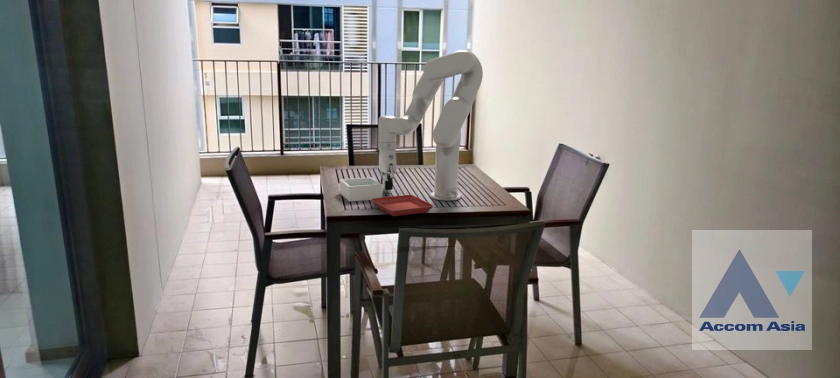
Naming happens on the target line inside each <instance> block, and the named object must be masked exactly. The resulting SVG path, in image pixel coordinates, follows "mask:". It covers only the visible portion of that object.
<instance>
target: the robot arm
mask: <svg viewBox="0 0 840 378" xmlns="http://www.w3.org/2000/svg"><path fill="white" fill-rule="evenodd" d="M422 70H423V71H422V74H421V76H420V78H419V80H418V82H417V83H416V85H415V87H414V88H413V91H412V98H411V101H410V103H409V105H408V107H407V109H406V110H405V112H404V115H403V116H400V117H396V116H394V115H380V116H379V117H378V121H377V122H378V125H377V126H378V129H377V132H378V135H377V140H378V141H377V142H378V143H377V147H378V148H377V149H378V152H379V153H378V168H379V169H378V170H379V171H380V183H381V184H382V181H383V174H386V181H385V190H391V191H393V187H394V185H393V184H394V176H395V174H396V173H397V169H398V167H397V153H396V150H397V135H398V136H408V135H411V134H412V133H413V132H415V131H416V129H417V128H418V127H419V125H420V124H421V122H422V120H423V119H424V116H425V114H426V113H427V111H428V108H429V107H430V105H431V103H432V101H433V100H434V98H435V96H436V94H437V92H438V91H439V89H440V87H441V86H442V84H443V82H444V81H445V79H448V78H452V77H455V76H458V75H461V76H460V79H459V80H458V83H457V85H456V87H455V90H454V93H453V95H452V96H451V98H450V99H449V100H447V102H446V103H445V104H444V106H443V108H442V111H441V113H440V115H439V116H438V119H437V122H436V124H435V126H434V129H433V132H432V139H433V142H434V143H435V161H434V162H435V163H434V189H433V190H434V191H433V192H431V193H430V195H429V196H430V198H432V199H433V200H437V201H446V202H448V201H457V200H460V199H461V198H462V195H461V193H459V192H458V184H459V183H458V182H459V159H460V156H459V155H460V146H461V145H460V143H461V129H462V128H463V125H464V123H465V120H466V119H467V117H468V116H469V114H470V112H471V109H472V106H473V104H474V102H475V99H476V98H477V95H478V92H479V91H480V87H481V84H482V83H483V76H484V75H483V74H484V72H483V71H484V70H483V66H482V63H481V61H480V59H479V58H478V57H477V55H476V54H474V52H472V51H470V50H466V49H465V50H464V49H461V50H458V51H457V50H456V51H454V52H452V53H448V54H445V55H442V56H438V57H435V58H431V59H429V60H428V61H426V63H425V64H424V66H423V69H422ZM388 175H389V176H388Z"/></svg>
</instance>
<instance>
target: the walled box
mask: <svg viewBox="0 0 840 378" xmlns="http://www.w3.org/2000/svg"><path fill="white" fill-rule="evenodd" d="M339 194H340V195H341V196H342V197H343V198H344V199H345V200H347V202H359V201H372V200H371V199H374V198H383V193H382V184H381V182H379V181H378V180H377V179H375V178H374V177H372V176H371V177H356V178H342V179H341V178H340V179H339Z"/></svg>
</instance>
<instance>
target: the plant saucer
mask: <svg viewBox="0 0 840 378" xmlns="http://www.w3.org/2000/svg"><path fill="white" fill-rule="evenodd" d="M370 201H372V203H373V204H374V206H376V207H377V208H378V209H380V210H381V211H384V212H385V213H386V214H388V215H390V216H392V217H398V216H407V215H414V214H422V213H428V212H429V211H430V210H431V209H432V208H433V207H434V204H431V203H429V202H428V201H425V200H424V199H421V198H419V197H417V196H415V195H413V194H404V195H403V194H402V195H395V196H382V198H374V199H371V200H370Z"/></svg>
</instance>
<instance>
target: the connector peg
mask: <svg viewBox="0 0 840 378" xmlns="http://www.w3.org/2000/svg"><path fill="white" fill-rule="evenodd" d="M388 176H389V175H388ZM385 181H386V174H383V181H382V195H390V194H392V190H385Z"/></svg>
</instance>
